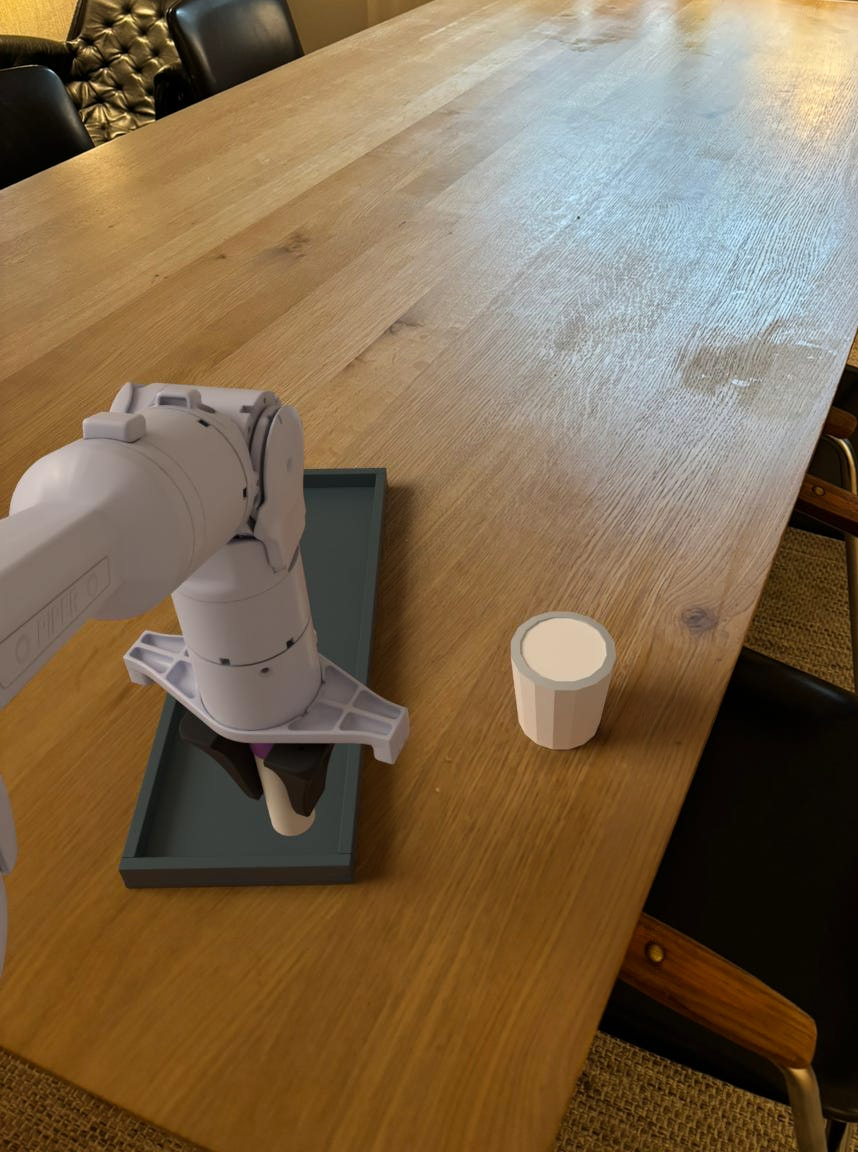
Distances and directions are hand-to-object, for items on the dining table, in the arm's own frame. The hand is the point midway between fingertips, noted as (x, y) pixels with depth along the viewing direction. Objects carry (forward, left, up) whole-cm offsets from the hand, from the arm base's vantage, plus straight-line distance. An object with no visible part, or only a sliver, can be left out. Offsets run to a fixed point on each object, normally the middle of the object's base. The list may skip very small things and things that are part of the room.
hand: (287, 792), depth 55 cm
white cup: (+17, -10, -10) cm, 22 cm away
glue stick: (0, 0, -2) cm, 2 cm away
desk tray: (+16, +11, -10) cm, 21 cm away
